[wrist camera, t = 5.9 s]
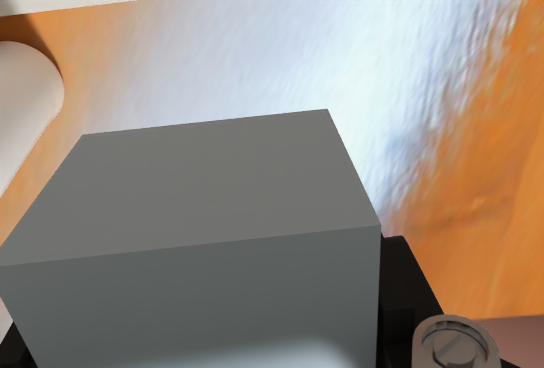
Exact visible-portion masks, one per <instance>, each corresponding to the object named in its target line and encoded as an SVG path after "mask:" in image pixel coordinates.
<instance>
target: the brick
mask: <svg viewBox="0 0 544 368" xmlns="http://www.w3.org/2000/svg"><path fill="white" fill-rule="evenodd" d="M380 243H381V223H380V221H379V219H378V217H377V215H376V213H375V210H374V208H373V206H372V204H371V202H370V200H369V197H368V195H367V193H366V191H365V189H364V187H363V185H362V182H361V180H360V178H359V176H358V174H357V172H356V169H355V167H354V165H353V163H352V161H351V159H350V157H349V154H348V152H347V150H346V148H345V146H344V144H343V142H342V139H341V137H340V135H339V133H338V131H337V129H336V126H335V124H334V122H333V120H332V118H331V116H330V114H329V111H328V109H320V110H311V111H301V112H292V113H283V114H273V115H264V116H254V117H245V118H236V119H226V120H217V121H207V122H198V123H189V124H179V125H170V126H160V127H151V128H142V129H132V130H123V131H113V132H104V133H95V134H85V135H82V136H81V138H80V139H79V140H78V142H77V143H76V144H75V146H74V147H73V149H72V150H71V151H70V153H69V154H68V155H67V157H66V158H65V160H64V161H63V162H62V164H61V165H60V166H59V168H58V169H57V170H56V172H55V173H54V175H53V176H52V177H51V179H50V180H49V181H48V183H47V184H46V186H45V187H44V188H43V190H42V191H41V192H40V194H39V195H38V196H37V198H36V199H35V201H34V202H33V203H32V205H31V206H30V207H29V209H28V210H27V212H26V213H25V214H24V216H23V217H22V218H21V220H20V221H19V223H18V224H17V225H16V227H15V228H14V229H13V231H12V232H11V233H10V235H9V236H8V238H7V239H6V240H5V242H4V243H3V244H2V246H1V247H0V296H1V298H2V300H3V302H4V304H5V306H6V308H7V310H8V312H9V313H10V315H11V317H12V319H13V321H14V323H15V325H16V327H17V329H18V330H19V332H20V334H21V336H22V338H23V340H24V342H25V344H26V346H27V347H28V349H29V351H30V353H31V355H32V357H33V359H34V361H35V362H36V364H37V366H38V368H375V365H376V341H377V316H378V292H379V267H380Z"/></svg>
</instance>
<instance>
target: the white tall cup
mask: <svg viewBox="0 0 544 368" xmlns="http://www.w3.org/2000/svg"><path fill="white" fill-rule="evenodd" d="M64 97H65V90H64V84H63V80H62V78H61V75H60V73H59V71H58V70H57V68H56V67H55V65H54V64H53V63H52V62H51V61H50V60H49V58H47V57H46V56H45V55H44V54H43V53H41V52H40V51H38V50H37V49H35V48H33V47H31V46H29V45H26V44H23V43H19V42H14V41H0V198H1V197H2V195H3V194H4V192H5V191H6V189H7V188H8V186H9V185H10V183H11V182H12V180H13V178H14V177H15V175H16V174H17V172H18V171H19V169H20V168H21V166H22V164H23V163H24V161H25V160H26V158H27V157H28V155H29V154H30V152H31V151H32V149H33V148H34V146H35V145H36V143H37V141H38V140H39V138H40V137H41V135H42V134H43V132H44V131H45V130H46V128H47V127H48V125H49V124H50V123H51V122H52V121H53V120H54V119H55V118H56V116H57V115H58V114H59V112H60V110H61V108H62V106H63V103H64Z"/></svg>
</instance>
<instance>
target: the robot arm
mask: <svg viewBox="0 0 544 368" xmlns="http://www.w3.org/2000/svg"><path fill="white" fill-rule="evenodd" d="M0 368H38V366H37V364H36V362H35V361H34V359H33V357H32V355H31V353H30V351H29V349H28V347H27V346H26V344H25V342H24V340H23V338H22V336H21V334H20V332H19V330H18V329H17V327H16V325H15V323H14V321H13V323H12V325H11V326H10V328H9V330H8V332H7V334H6V335H5V337H4V339H3V341H2V342H1V344H0ZM375 368H520V367H518V366H516V365H513V364H511V363H509V362H507V361H505V360H503V359H501V358H500V356H499V350H498V347H497V345H496V342H495V340H494V339H493V337H492V336H491V335H490V333H489V332H488V331H487V330H486V329H485V328H483V327H482V326H481V325H479V324H478V323H476V322H474V321H472V320H470V319H468V318H465V317H461V316H457V315H445V314H444V313H443V311H442V309H441V307H440V305H439V303H438V301H437V299H436V297H435V295H434V293H433V291H432V289H431V288H430V286H429V284H428V282H427V280H426V278H425V276H424V274H423V272H422V270H421V268H420V266H419V264H418V263H417V261H416V259H415V257H414V255H413V253H412V251H411V249H410V247H409V245H408V243H407V241H406V240H405V238H404V237H403V236H401V235H400V236H393V237H386V238H384V237H383V235H382V233H381V243H380V267H379V292H378V316H377V341H376V365H375Z"/></svg>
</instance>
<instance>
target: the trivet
mask: <svg viewBox="0 0 544 368" xmlns="http://www.w3.org/2000/svg"><path fill="white" fill-rule="evenodd" d="M125 1H133V0H0V16H9V15H17V14H25V13H34V12H42V11H50V10H58V9H67V8H75V7H83V6H91V5H100V4H108V3H116V2H125Z"/></svg>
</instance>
